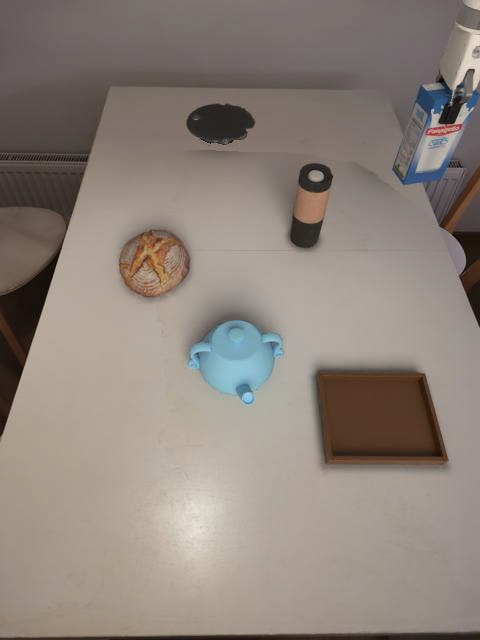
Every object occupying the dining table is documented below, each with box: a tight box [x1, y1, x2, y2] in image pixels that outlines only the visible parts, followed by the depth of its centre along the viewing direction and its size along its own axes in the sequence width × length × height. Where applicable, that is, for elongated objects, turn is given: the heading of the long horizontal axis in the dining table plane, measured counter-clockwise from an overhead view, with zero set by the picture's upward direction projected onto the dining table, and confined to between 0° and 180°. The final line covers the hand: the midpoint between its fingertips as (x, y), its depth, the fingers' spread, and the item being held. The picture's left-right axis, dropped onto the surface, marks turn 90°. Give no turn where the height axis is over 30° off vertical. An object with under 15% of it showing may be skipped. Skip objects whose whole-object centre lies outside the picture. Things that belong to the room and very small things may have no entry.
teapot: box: [187, 319, 285, 407], centre depth 83 cm, size 20×20×13 cm
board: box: [185, 102, 256, 145], centre depth 135 cm, size 22×22×5 cm
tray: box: [316, 371, 449, 466], centre depth 83 cm, size 22×18×3 cm
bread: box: [118, 229, 190, 298], centre depth 101 cm, size 16×20×10 cm
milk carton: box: [391, 82, 480, 186], centre depth 95 cm, size 10×6×20 cm, turn 103°
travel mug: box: [290, 162, 334, 249], centre depth 103 cm, size 8×8×20 cm
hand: (441, 112), depth 90 cm, fingers closed on milk carton, 7 cm apart
